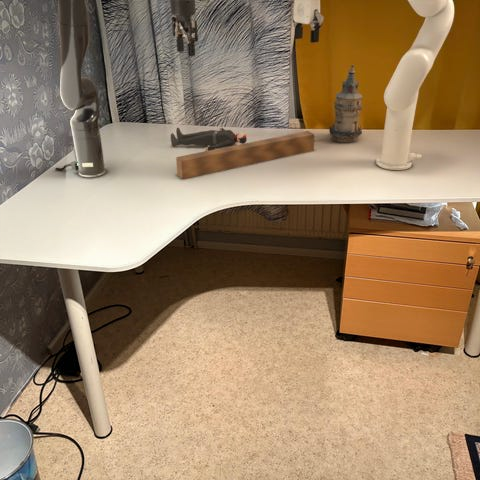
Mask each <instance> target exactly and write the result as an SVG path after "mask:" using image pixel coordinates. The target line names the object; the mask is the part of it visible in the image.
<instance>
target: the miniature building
mask: <svg viewBox="0 0 480 480" xmlns="http://www.w3.org/2000/svg"><path fill="white" fill-rule="evenodd" d="M350 66H351V67H350V69H348V75H347V77H346V79H345V81H342V88H341V91H339V92H336V93H335V101H334V102H333V104H334V124H332V126H331V125H329V126H328V128H329V129H328V131H329V135H331V137H332V141H334V142H338V143H354V142H356V141H357V139H358V138H359V137H360V136H361V135H363V130H362V127H361V125H360V126H359V121H360V116H361V110H362V108H363V103H362V99H363V95H362V94H361V93H360V92H358V87H359V85H360V83H359V81H356V77H355V73H356V71H355V69H354V66H355V64H352V63H351V65H350Z"/></svg>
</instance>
